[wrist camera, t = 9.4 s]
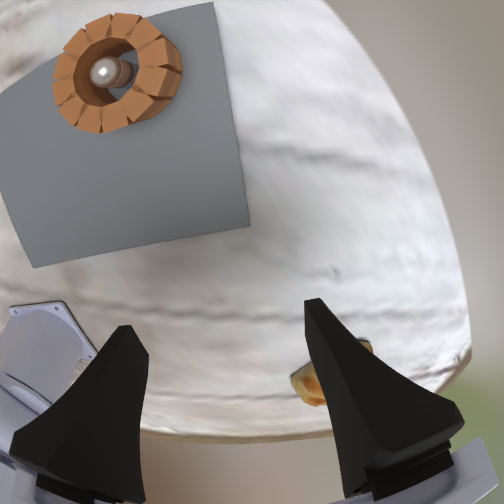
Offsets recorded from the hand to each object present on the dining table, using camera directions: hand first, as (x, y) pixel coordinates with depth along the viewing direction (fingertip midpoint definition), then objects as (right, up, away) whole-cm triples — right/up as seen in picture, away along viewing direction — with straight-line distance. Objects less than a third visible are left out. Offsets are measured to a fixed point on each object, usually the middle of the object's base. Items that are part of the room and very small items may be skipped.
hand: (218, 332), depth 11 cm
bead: (-5, +13, +1) cm, 14 cm away
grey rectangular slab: (-9, +10, +4) cm, 14 cm away
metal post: (-5, +13, +1) cm, 14 cm away
